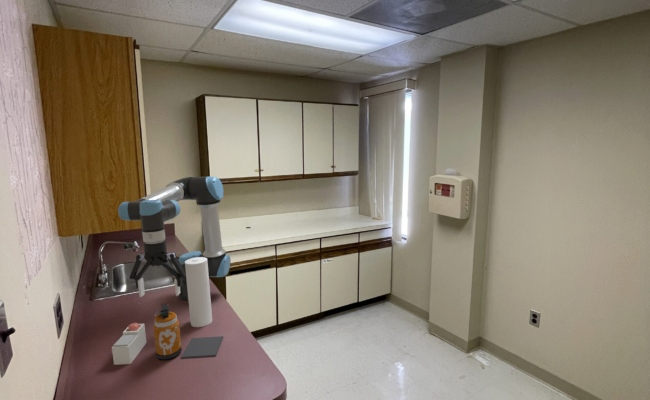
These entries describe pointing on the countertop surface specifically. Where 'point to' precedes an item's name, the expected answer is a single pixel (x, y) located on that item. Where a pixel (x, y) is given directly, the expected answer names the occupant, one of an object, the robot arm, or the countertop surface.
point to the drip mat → (202, 347)
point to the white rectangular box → (129, 345)
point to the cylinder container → (198, 291)
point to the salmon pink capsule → (133, 327)
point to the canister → (167, 334)
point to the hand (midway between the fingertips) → (160, 295)
